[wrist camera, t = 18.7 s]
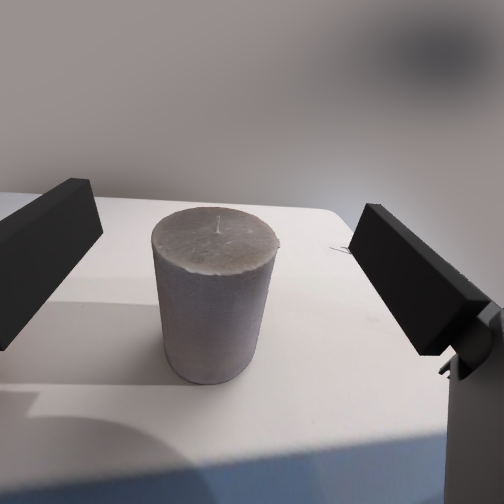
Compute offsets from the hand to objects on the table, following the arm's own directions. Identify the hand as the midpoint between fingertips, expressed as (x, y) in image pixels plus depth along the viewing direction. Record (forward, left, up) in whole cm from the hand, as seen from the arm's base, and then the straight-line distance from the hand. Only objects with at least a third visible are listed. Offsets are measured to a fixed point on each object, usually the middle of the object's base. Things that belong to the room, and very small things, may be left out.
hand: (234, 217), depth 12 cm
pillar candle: (+4, -3, -18) cm, 19 cm away
